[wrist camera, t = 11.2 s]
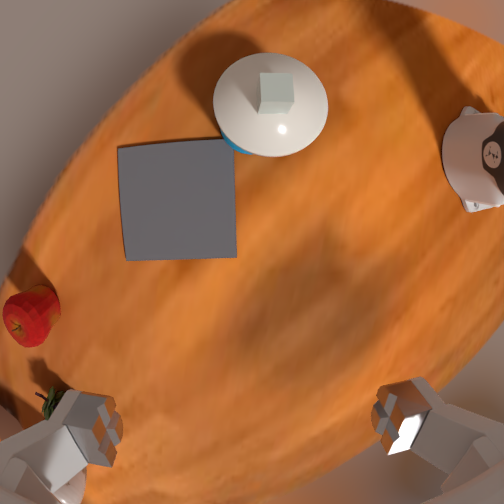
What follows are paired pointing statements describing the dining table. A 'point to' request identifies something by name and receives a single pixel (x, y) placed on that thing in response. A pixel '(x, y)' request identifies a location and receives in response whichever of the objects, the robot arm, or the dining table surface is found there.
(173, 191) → the mat
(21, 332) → the apple
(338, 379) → the dining table surface
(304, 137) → the lid
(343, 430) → the dining table surface
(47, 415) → the fruit
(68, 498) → the vase
